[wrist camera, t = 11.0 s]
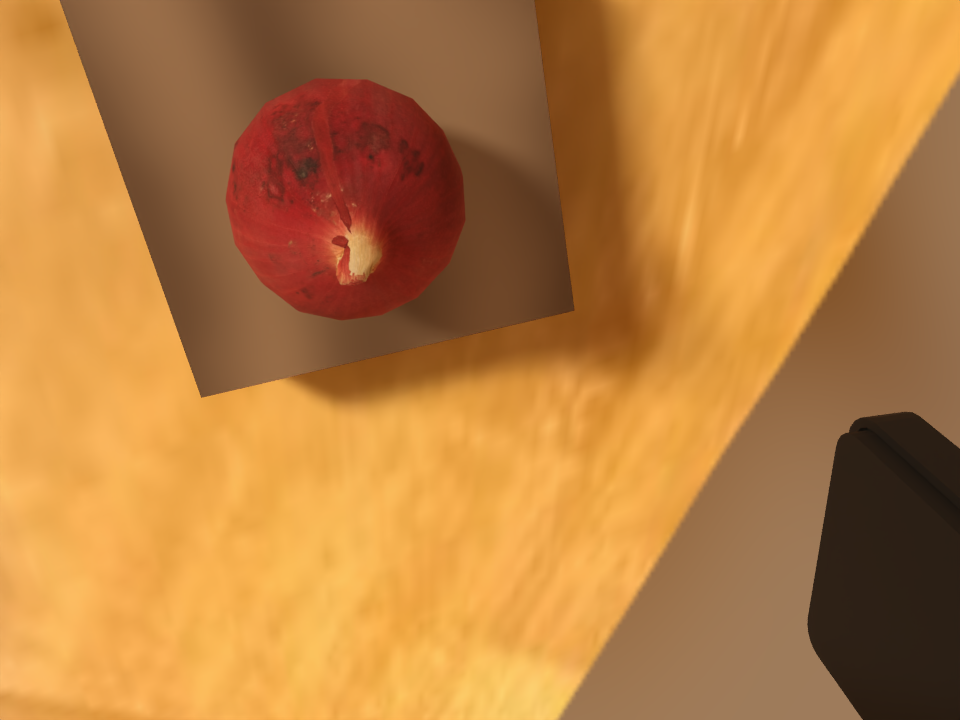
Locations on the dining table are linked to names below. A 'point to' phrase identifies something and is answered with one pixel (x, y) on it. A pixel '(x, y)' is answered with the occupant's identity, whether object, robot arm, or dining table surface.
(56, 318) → the dining table surface
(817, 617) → the robot arm
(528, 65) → the walnut block
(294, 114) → the onion
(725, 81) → the dining table surface
